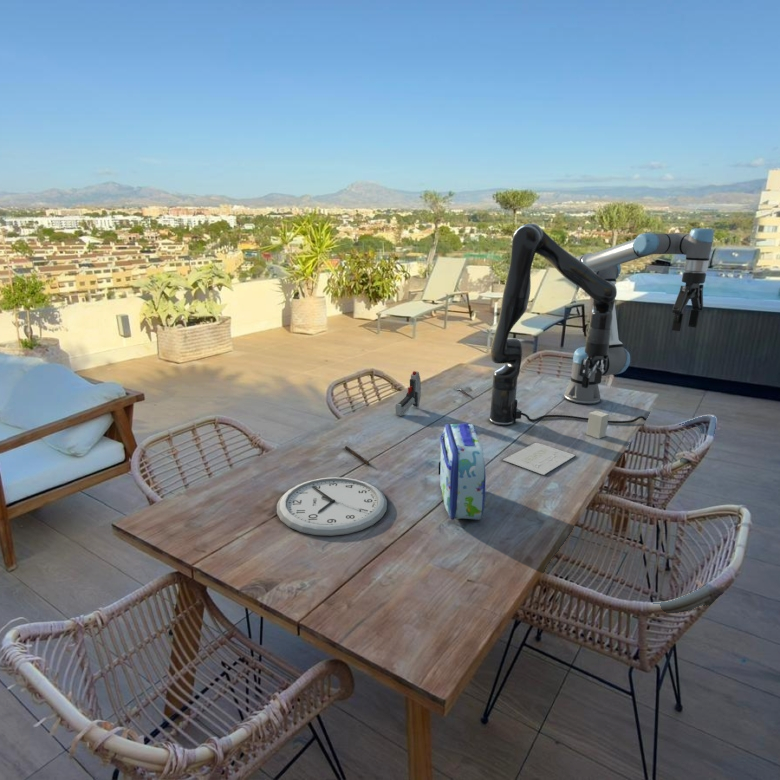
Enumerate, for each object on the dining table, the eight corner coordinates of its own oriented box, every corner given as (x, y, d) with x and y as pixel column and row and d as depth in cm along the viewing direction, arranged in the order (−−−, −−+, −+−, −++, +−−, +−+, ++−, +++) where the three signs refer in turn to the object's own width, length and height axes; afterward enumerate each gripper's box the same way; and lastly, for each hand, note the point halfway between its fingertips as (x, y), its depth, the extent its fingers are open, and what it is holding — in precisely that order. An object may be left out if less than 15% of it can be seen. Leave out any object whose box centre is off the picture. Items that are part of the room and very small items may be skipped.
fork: (466, 397, 235) (466, 393, 234) (453, 387, 250) (453, 383, 249) (471, 397, 236) (472, 392, 235) (458, 387, 250) (458, 383, 250)
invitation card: (535, 442, 186) (575, 454, 176) (535, 442, 187) (575, 455, 176) (502, 459, 172) (543, 474, 162) (502, 460, 172) (543, 475, 162)
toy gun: (394, 379, 206) (416, 369, 217) (395, 417, 212) (416, 405, 223) (399, 380, 205) (420, 370, 216) (400, 418, 211) (421, 406, 222)
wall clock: (392, 527, 129) (268, 531, 127) (391, 533, 130) (269, 537, 127) (383, 473, 158) (282, 475, 155) (383, 478, 158) (282, 480, 156)
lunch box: (436, 479, 158) (439, 414, 152) (472, 480, 158) (476, 415, 152) (443, 526, 133) (448, 451, 127) (486, 527, 133) (492, 452, 127)
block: (592, 431, 198) (595, 410, 196) (605, 436, 194) (608, 414, 192) (586, 434, 196) (589, 412, 193) (598, 438, 192) (602, 416, 189)
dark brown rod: (344, 448, 179) (344, 445, 179) (346, 448, 179) (346, 445, 179) (367, 464, 167) (367, 462, 167) (368, 464, 167) (368, 461, 167)
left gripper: (598, 335, 187) (591, 379, 192) (576, 341, 178) (570, 386, 183) (618, 339, 182) (611, 384, 187) (597, 345, 173) (590, 391, 178)
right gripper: (698, 270, 204) (688, 324, 210) (668, 272, 189) (658, 330, 195) (719, 271, 198) (708, 327, 204) (690, 274, 183) (679, 333, 190)
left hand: (591, 385), depth 185 cm, fingers open, 8 cm apart
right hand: (684, 328), depth 200 cm, fingers open, 13 cm apart
